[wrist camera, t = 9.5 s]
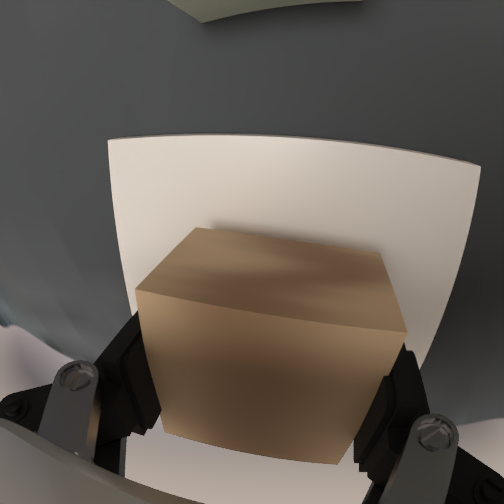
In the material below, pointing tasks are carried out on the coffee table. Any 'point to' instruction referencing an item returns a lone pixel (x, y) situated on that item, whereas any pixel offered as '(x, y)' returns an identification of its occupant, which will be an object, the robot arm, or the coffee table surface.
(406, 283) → the baseplate
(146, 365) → the robot arm
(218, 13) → the sage block
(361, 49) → the coffee table surface
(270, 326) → the oak block
